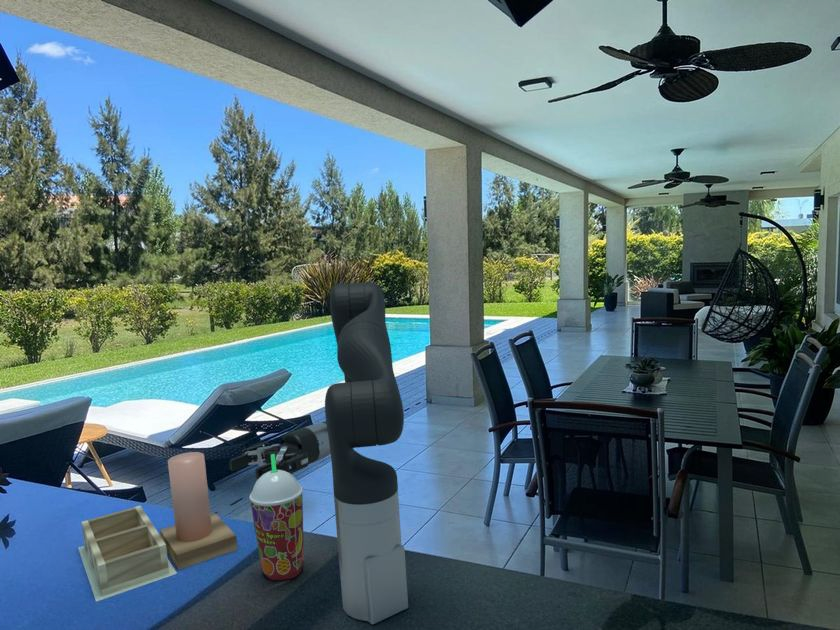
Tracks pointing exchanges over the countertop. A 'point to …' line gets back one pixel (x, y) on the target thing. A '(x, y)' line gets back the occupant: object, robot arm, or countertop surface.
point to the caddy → (124, 549)
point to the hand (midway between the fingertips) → (243, 470)
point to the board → (200, 544)
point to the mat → (99, 596)
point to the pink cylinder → (190, 496)
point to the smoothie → (278, 523)
